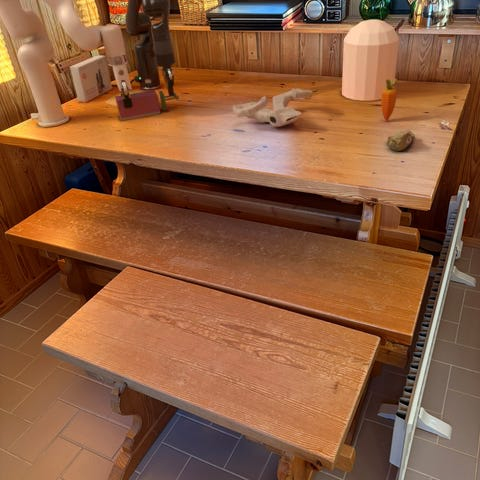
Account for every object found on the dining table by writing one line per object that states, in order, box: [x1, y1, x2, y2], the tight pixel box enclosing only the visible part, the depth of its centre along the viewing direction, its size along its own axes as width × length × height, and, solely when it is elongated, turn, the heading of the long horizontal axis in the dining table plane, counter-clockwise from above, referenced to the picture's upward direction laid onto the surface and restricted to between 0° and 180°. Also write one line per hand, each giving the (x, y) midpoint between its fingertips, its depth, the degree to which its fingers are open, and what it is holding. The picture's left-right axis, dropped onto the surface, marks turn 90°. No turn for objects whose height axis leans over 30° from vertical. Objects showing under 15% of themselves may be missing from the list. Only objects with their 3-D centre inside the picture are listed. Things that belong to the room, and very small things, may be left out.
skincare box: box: [69, 54, 113, 103], centre depth 218 cm, size 21×6×16 cm, turn 158°
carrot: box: [380, 78, 398, 122], centre depth 161 cm, size 5×5×15 cm
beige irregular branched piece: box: [231, 88, 314, 128], centre depth 171 cm, size 28×26×12 cm
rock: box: [387, 129, 416, 152], centre depth 146 cm, size 11×6×10 cm
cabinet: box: [114, 89, 161, 122], centre depth 191 cm, size 16×6×8 cm, turn 109°
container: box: [341, 18, 400, 102], centre depth 185 cm, size 21×21×28 cm
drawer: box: [157, 90, 180, 111], centre depth 193 cm, size 21×5×7 cm, turn 109°
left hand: (127, 104), depth 190 cm, fingers closed on cabinet, 6 cm apart
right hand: (171, 95), depth 194 cm, fingers closed
